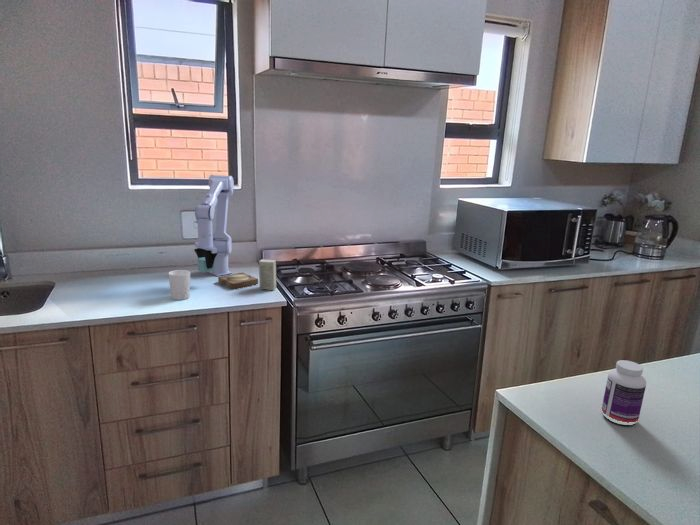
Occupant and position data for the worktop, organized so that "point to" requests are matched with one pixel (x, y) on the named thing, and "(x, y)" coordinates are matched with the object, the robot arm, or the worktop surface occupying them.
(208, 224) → the robot arm
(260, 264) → the skincare box
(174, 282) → the white cup
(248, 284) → the walnut plinth
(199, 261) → the teal block
